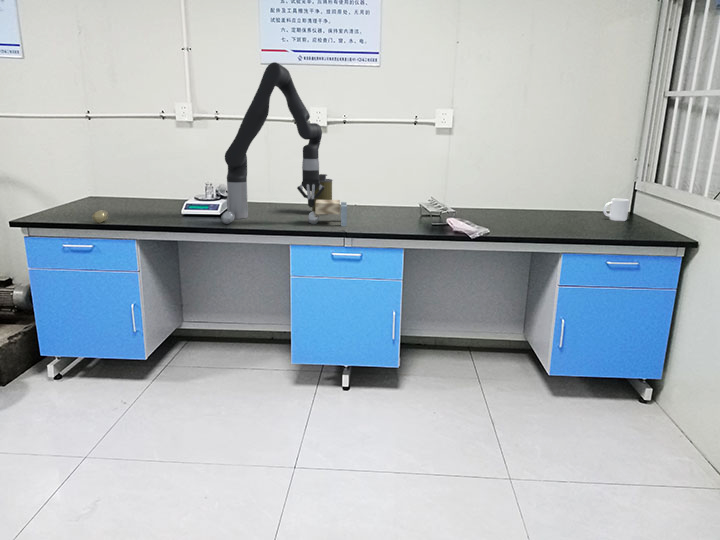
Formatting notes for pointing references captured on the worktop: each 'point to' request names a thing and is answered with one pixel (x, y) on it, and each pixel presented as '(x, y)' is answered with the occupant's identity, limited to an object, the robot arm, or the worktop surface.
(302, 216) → the worktop surface
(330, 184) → the canister
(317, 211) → the slab
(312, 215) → the mottled grey ball
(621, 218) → the mug
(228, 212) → the translucent grey ball
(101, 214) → the olive tan ovoid
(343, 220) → the post
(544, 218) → the worktop surface
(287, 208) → the worktop surface
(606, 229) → the worktop surface
